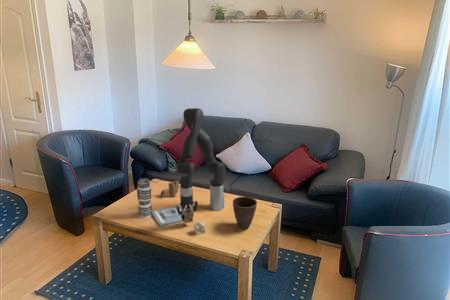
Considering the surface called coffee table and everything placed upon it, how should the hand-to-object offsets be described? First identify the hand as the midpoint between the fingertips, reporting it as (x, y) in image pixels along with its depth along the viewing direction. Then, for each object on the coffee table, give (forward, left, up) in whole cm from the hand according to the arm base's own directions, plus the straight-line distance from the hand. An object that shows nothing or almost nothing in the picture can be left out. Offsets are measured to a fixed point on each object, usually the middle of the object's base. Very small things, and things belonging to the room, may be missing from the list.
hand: (187, 218), depth 204 cm
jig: (+6, -15, -4) cm, 17 cm away
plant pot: (-31, +16, -5) cm, 35 cm away
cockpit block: (-3, +11, -5) cm, 12 cm away
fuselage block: (0, 0, -1) cm, 1 cm away
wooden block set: (-7, -47, -5) cm, 48 cm away
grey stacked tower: (+20, -25, -5) cm, 32 cm away
